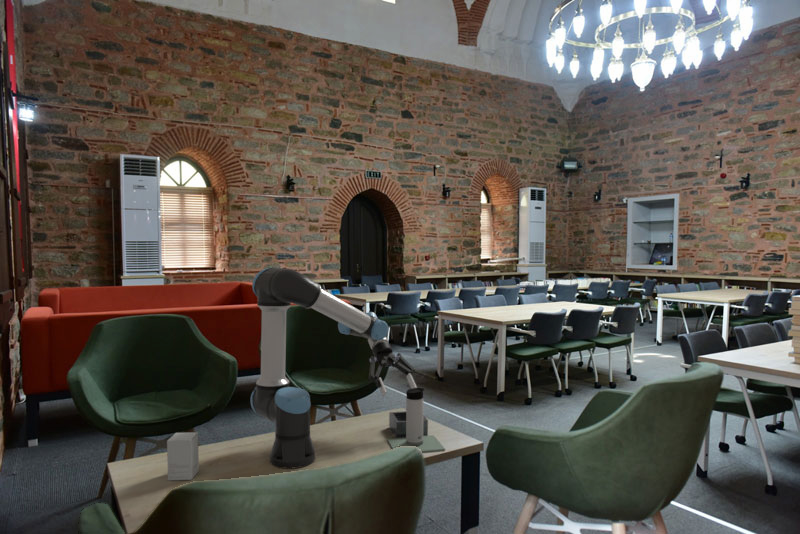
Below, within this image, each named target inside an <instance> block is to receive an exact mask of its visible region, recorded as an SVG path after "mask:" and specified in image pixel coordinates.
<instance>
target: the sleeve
mask: <svg viewBox="0 0 800 534" xmlns="http://www.w3.org/2000/svg"><path fill="white" fill-rule="evenodd" d="M388 414H389V416H388V417H389V418H388V421H389V424H388V425H389V427H390V428H389V427H388V428H389V429H390V431H391V433H392V434H393V436H394V437H395V438H406V411H392V412H389V413H388ZM428 425H429V420H428V419H427V418H426V416H425V415H424V414H423V436H429V434H428V433H429V431H428V428H429V426H428Z"/></svg>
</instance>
